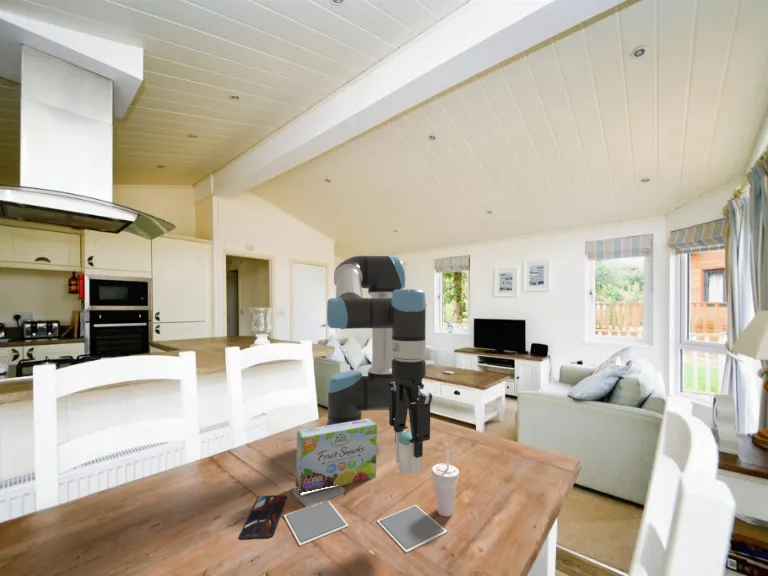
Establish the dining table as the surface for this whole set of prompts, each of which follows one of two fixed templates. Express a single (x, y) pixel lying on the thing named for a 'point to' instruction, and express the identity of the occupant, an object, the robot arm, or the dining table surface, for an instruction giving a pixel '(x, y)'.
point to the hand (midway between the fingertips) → (408, 465)
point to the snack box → (336, 454)
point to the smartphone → (263, 517)
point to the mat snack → (314, 522)
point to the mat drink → (411, 528)
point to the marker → (404, 451)
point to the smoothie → (445, 486)
